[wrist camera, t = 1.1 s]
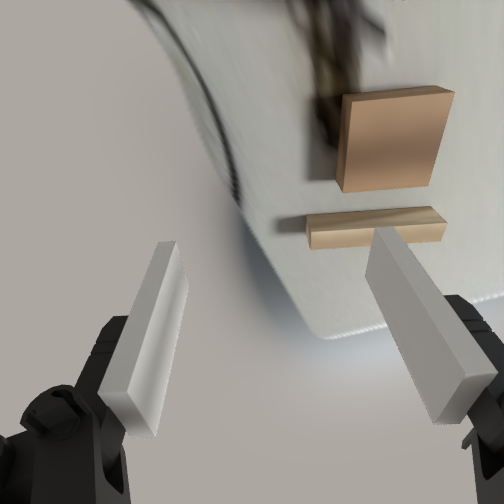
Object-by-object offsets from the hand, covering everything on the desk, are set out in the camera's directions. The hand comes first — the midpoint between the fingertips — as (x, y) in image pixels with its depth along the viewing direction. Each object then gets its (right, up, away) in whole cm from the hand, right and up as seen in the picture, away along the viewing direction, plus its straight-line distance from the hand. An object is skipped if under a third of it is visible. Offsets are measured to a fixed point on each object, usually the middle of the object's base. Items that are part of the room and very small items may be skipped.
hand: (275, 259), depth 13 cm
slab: (+10, +10, +12) cm, 19 cm away
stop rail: (+10, +4, +17) cm, 20 cm away
